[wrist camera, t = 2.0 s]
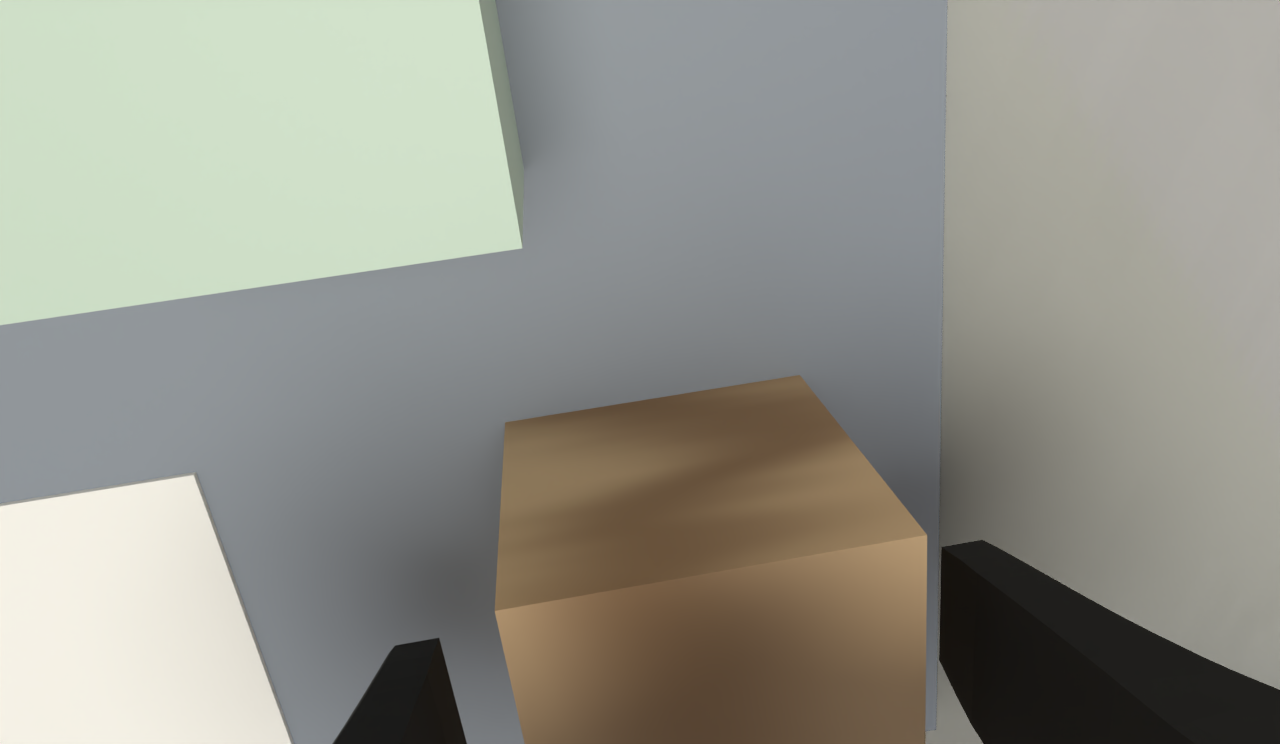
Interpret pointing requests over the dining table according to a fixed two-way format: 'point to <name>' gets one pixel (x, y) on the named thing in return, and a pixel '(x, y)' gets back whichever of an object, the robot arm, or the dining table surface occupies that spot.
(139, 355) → the grey mat
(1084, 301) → the dining table surface
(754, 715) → the oak block
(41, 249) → the green block
